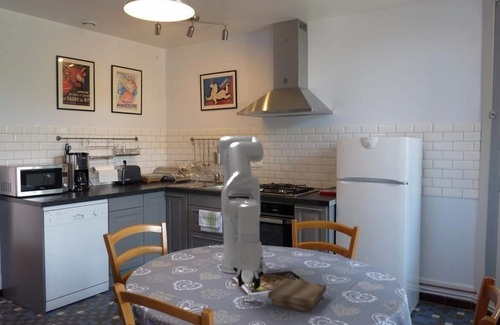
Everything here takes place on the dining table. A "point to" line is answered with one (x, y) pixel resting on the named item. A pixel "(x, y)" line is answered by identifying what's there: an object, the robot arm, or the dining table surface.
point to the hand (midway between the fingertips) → (249, 286)
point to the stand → (297, 294)
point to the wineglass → (248, 282)
